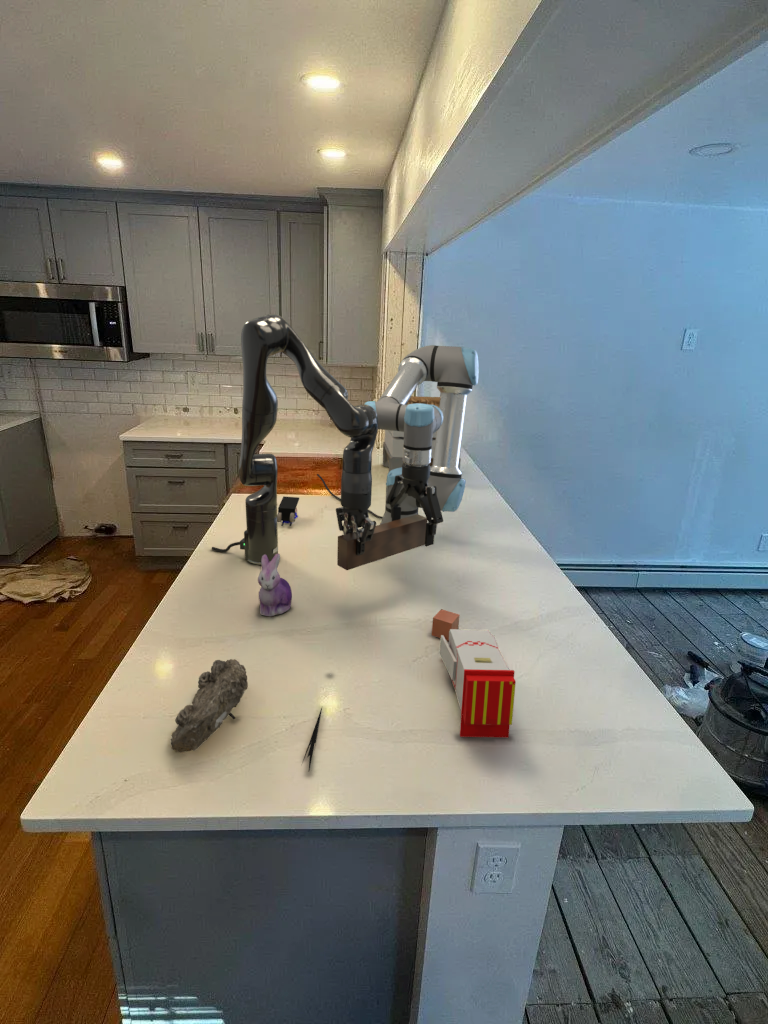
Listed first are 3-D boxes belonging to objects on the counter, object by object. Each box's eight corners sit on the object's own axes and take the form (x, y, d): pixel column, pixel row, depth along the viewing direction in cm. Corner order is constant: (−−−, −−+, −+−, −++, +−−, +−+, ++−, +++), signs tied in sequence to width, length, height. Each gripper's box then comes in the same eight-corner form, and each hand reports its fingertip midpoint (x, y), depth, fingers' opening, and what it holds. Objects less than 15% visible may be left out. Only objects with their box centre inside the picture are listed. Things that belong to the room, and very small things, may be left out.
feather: (331, 679, 122) (336, 673, 122) (307, 777, 96) (313, 769, 95) (324, 675, 122) (329, 669, 121) (298, 772, 95) (304, 764, 95)
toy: (489, 613, 130) (525, 677, 101) (485, 667, 133) (518, 744, 104) (437, 612, 130) (457, 676, 101) (434, 666, 133) (453, 743, 103)
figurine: (263, 621, 141) (261, 566, 136) (252, 602, 149) (250, 550, 144) (299, 613, 145) (298, 560, 140) (286, 596, 154) (285, 545, 148)
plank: (346, 570, 142) (347, 541, 139) (337, 564, 145) (337, 536, 142) (425, 544, 160) (427, 518, 157) (415, 540, 163) (417, 514, 160)
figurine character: (295, 532, 200) (300, 513, 214) (294, 513, 197) (299, 495, 210) (276, 531, 200) (282, 512, 213) (275, 512, 197) (281, 494, 210)
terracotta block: (431, 635, 139) (432, 617, 137) (439, 626, 143) (441, 608, 141) (450, 641, 136) (451, 623, 135) (458, 632, 140) (459, 614, 139)
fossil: (195, 660, 117) (247, 628, 112) (227, 691, 120) (279, 661, 115) (146, 746, 98) (206, 711, 93) (185, 779, 101) (245, 748, 96)
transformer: (381, 463, 289) (385, 382, 275) (444, 464, 292) (450, 384, 279) (389, 482, 257) (393, 392, 243) (459, 483, 261) (467, 394, 247)
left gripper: (326, 482, 142) (326, 545, 147) (362, 498, 132) (360, 565, 138) (350, 478, 146) (349, 539, 152) (386, 492, 136) (383, 557, 142)
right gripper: (375, 454, 157) (372, 526, 164) (440, 477, 139) (434, 555, 147) (395, 451, 161) (392, 520, 169) (461, 472, 144) (454, 548, 151)
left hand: (354, 551), depth 145 cm, fingers closed on plank, 4 cm apart
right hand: (411, 537), depth 158 cm, fingers open, 13 cm apart
